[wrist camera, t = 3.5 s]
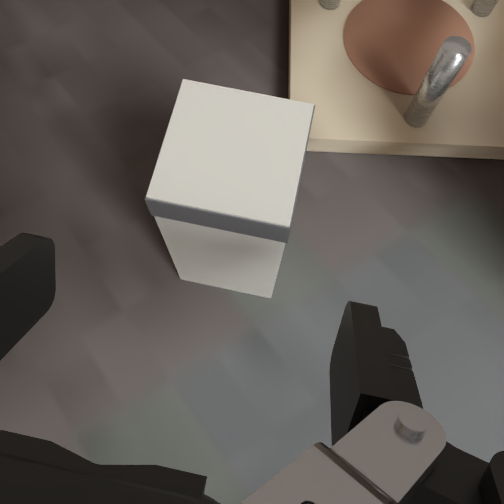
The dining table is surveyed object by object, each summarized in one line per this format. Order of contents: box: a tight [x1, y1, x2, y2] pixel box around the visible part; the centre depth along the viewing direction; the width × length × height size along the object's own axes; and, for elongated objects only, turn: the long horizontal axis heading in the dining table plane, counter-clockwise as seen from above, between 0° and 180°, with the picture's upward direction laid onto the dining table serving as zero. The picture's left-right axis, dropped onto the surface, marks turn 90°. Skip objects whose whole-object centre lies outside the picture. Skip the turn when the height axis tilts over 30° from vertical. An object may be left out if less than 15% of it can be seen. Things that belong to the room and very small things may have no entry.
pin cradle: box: [288, 0, 504, 159], centre depth 25 cm, size 13×13×6 cm
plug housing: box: [145, 79, 315, 298], centre depth 19 cm, size 4×4×9 cm
